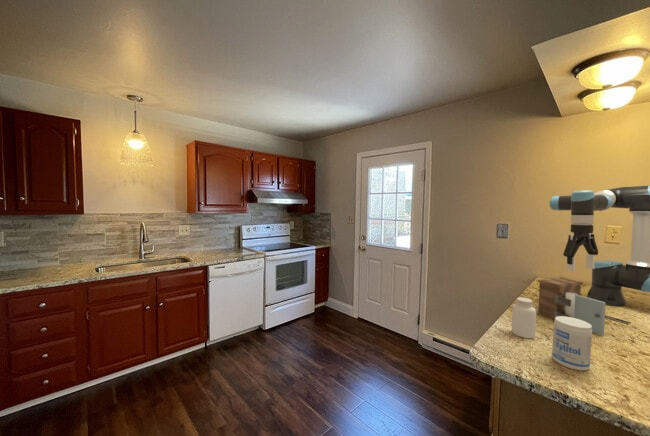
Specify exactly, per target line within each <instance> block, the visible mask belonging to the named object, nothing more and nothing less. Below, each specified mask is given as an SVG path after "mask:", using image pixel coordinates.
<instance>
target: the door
mask: <svg viewBox="0 0 650 436" xmlns="http://www.w3.org/2000/svg"><path fill="white" fill-rule="evenodd" d="M566 299H570V300H571V306H570V307H569V306H566V305H565V315H568V316H570V317H572V318H576V319H579V320H582V321H585V322H587V323H589V324H590V325H591V326H592V334H595V335H599V336H602V337H603V336H605V325H606V324H605V322H606V318H605V315H606V305H605V304H606V302H602V301H598V300H595V299H591V298H587V296H583V295H581V294H580V295H578V294H575V293H569V292H566Z"/></svg>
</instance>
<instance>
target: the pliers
mask: <svg viewBox="0 0 650 436" xmlns="http://www.w3.org/2000/svg"><path fill="white" fill-rule="evenodd" d="M606 319H607V320H610V321H613V322H616V323H619V324H624V325H629V324H632V322H631V321H628V320H625V319H621V318H617V317H613V316H610V315H606V314H605V320H606Z"/></svg>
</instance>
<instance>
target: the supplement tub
mask: <svg viewBox="0 0 650 436" xmlns="http://www.w3.org/2000/svg"><path fill="white" fill-rule="evenodd" d="M552 331H553V335H552V348H551V357H552V359H553V360H554V361H555V362H556V363H558V364H559V365H561V366H563V367H566V368H569V369H572V370H576V371H588V370H589V369H590V368H591V355H592V339H593V332H592V326H591V325H590V324H589V323H587V322H585V321H582V320H579V319H576V318H572V317H566V316H557V317H555V320H554V322H553V330H552Z"/></svg>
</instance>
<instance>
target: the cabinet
mask: <svg viewBox="0 0 650 436" xmlns="http://www.w3.org/2000/svg"><path fill="white" fill-rule="evenodd" d="M537 283H538V284H539V287H538V289H539V292H538V311H537V312H538V315H540V316H544V317H546V318H549V319H552V320H554V321H555V317H557V316H566V317H570V316H568V315H565V305H566V306H569V307H570V306H571V300H570V299H566V292H569V293H575V294H578V295H580V296H581V289H582V286H583V285H584V282H583V281H580V280H577V279H576V280H575V279H570V278H565V277H563V276H561V277H553V278H550V277H549V278H543V279H537Z"/></svg>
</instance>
